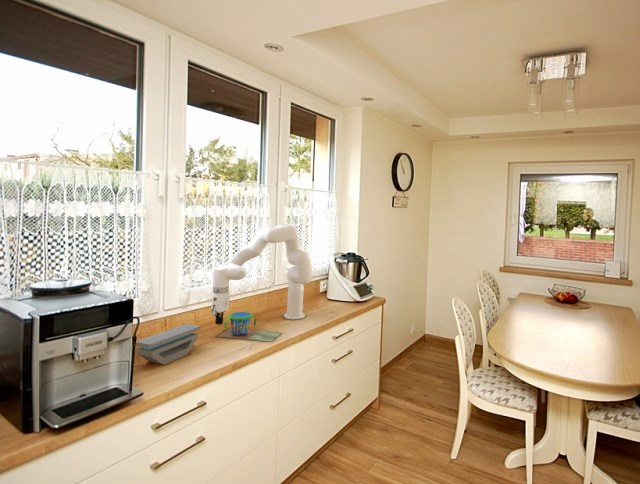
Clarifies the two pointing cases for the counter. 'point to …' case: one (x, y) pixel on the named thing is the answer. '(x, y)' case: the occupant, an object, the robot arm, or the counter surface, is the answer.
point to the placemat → (251, 335)
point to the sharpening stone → (168, 344)
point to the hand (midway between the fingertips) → (219, 323)
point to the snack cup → (240, 322)
